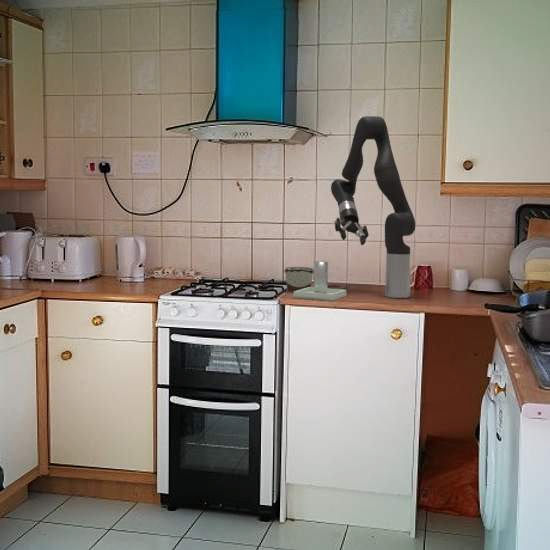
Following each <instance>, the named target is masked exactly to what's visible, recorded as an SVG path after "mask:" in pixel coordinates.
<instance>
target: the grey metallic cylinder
mask: <svg viewBox="0 0 550 550" xmlns="http://www.w3.org/2000/svg"><path fill="white" fill-rule="evenodd" d="M313 270H314V273H313V287H314V291H313V293H323V294H327V286H328V285H329V284H328V283H329V282H328V281H329V279H328V278H329V276H328V275H329V261H327V260H326V261H325V260H315V261H314V265H313Z"/></svg>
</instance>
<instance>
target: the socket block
mask: <svg viewBox="0 0 550 550" xmlns="http://www.w3.org/2000/svg"><path fill="white" fill-rule="evenodd" d="M327 288H329V289H342V290H347V291H346V293H348V285H339V284H337V285H336V284H328V286H327Z"/></svg>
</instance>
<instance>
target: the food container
mask: <svg viewBox="0 0 550 550" xmlns="http://www.w3.org/2000/svg"><path fill="white" fill-rule="evenodd" d="M283 273H284V274H285V280H286V282H285V283H286V292H287V293H290V292H294V291H297V290H301V289H304V288H307V287H312V283H313V277H314V267H307V266H289V267H288V266H287V267H285V268H284V271H283Z"/></svg>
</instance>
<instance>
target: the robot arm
mask: <svg viewBox="0 0 550 550" xmlns="http://www.w3.org/2000/svg"><path fill="white" fill-rule="evenodd" d="M367 140H374V142H375V145H376V148H377V155H376V159H375V162H374V167H373V173H374V177H375V180H376V183H377V187H378V188H379V190H380V192H381V193H382V194H383V195H384V196H385V197H386V198H387V200H388V201H389V202H390V204H391V207H392V208H393V211H394V212H391V213H390V214H388V215H387V216H386V218H385V222H384V245H385V248H386V258H385V260H386V261H385V285H384V286H385V287H384V289H385V290H384V296H385V297H386V298H391V299H392V298H393V299H394V298H396V299H407V298H409V297H410V296H411V277H412V273H411V271H410V270H411V269H410V267H411V264H410V262H411V261H410V260H411V247H410V245H407V244H406V243H405V242H404V237H409V236H412V235H413V234H414V233H415V230H416V220H415V216H414V214H413V212H412V209H411V206H410V204H409V202H408V200H407V196H406V193H405V191H404V187H403V185H402V184H403V183H402V181H401V178H400V177H401V176H400V173H399V170H398V167H397V164H396V161H395V157H394V154H393V150H392V146H391V141H390V136H389V130H388V127H387V123H386V121H385V119H384V118H383V117H382V116H370V115H367V116H362V117H361V118H360V119H359V120H358V121H357V123H356V127H355V130H354V133H353V138H352V142H351V146H350V150H349V155H348V157H347V160H346V161H345V164H344V166H343V169H342V171H341V176H342V178H344V179H339V178H337V179H334V180H333V181H332V183H331V185H330V191H331V194H332V196H333V197H334V200H335V201H336V203H337V206H338V214H339V215H338V216H339V217H337V218H336V219H335V221H334V230H335V232H337V233H338V232H339V234H340V238H341V239H342V240H343V241H345V240H346V238H347V233H346V232H349V233H351V234H353V235H354V236H356V237H358V238H359V243H360V246H364V245H365V244H366V240H367V238H368V237H369V235H370V234H369V231H368V228H367V226H366V225H363V226H362V225H360V218H359V213H358V209H357V206H356V204H355V198H354V196H355V193H356V188H357V180H358V177H359V175H360V172H361V171H362V168H363V165H364V155H363V147H364V144H365V142H366V141H367ZM341 226H342V227H341Z"/></svg>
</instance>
